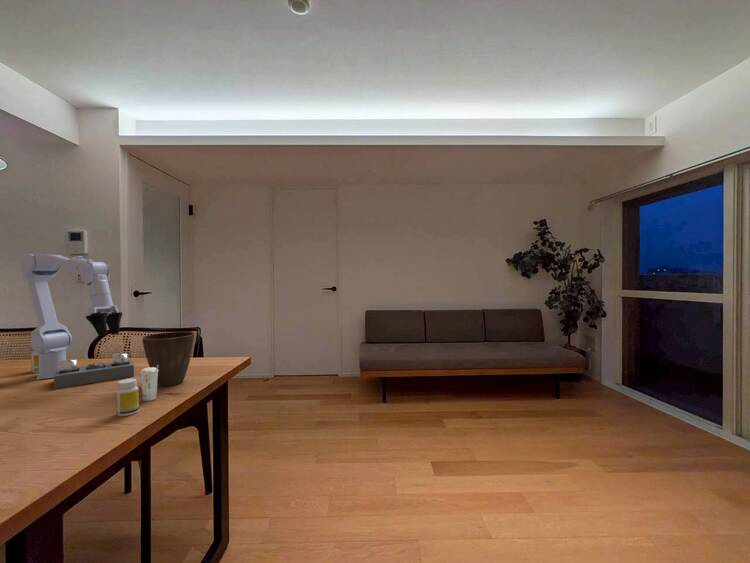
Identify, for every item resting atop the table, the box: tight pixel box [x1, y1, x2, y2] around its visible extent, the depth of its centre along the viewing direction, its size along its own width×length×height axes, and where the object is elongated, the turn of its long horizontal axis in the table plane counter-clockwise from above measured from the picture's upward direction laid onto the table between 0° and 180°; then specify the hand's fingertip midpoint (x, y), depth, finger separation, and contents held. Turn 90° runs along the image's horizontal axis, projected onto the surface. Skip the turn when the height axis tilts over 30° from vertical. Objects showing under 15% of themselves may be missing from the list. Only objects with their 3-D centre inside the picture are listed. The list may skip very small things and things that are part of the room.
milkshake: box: [139, 365, 159, 402], centre depth 101 cm, size 5×5×10 cm
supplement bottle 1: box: [30, 350, 39, 374], centre depth 133 cm, size 5×5×10 cm
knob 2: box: [112, 352, 129, 366], centre depth 127 cm, size 4×4×4 cm
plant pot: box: [141, 331, 195, 387], centre depth 117 cm, size 15×15×16 cm
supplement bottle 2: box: [115, 378, 140, 417], centre depth 91 cm, size 5×5×8 cm
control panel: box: [53, 359, 135, 390], centre depth 122 cm, size 11×21×4 cm, turn 129°
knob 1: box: [60, 358, 79, 373], centre depth 118 cm, size 4×4×4 cm
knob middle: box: [87, 362, 105, 370], centre depth 122 cm, size 4×4×4 cm
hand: (109, 334), depth 119 cm, fingers open, 7 cm apart
